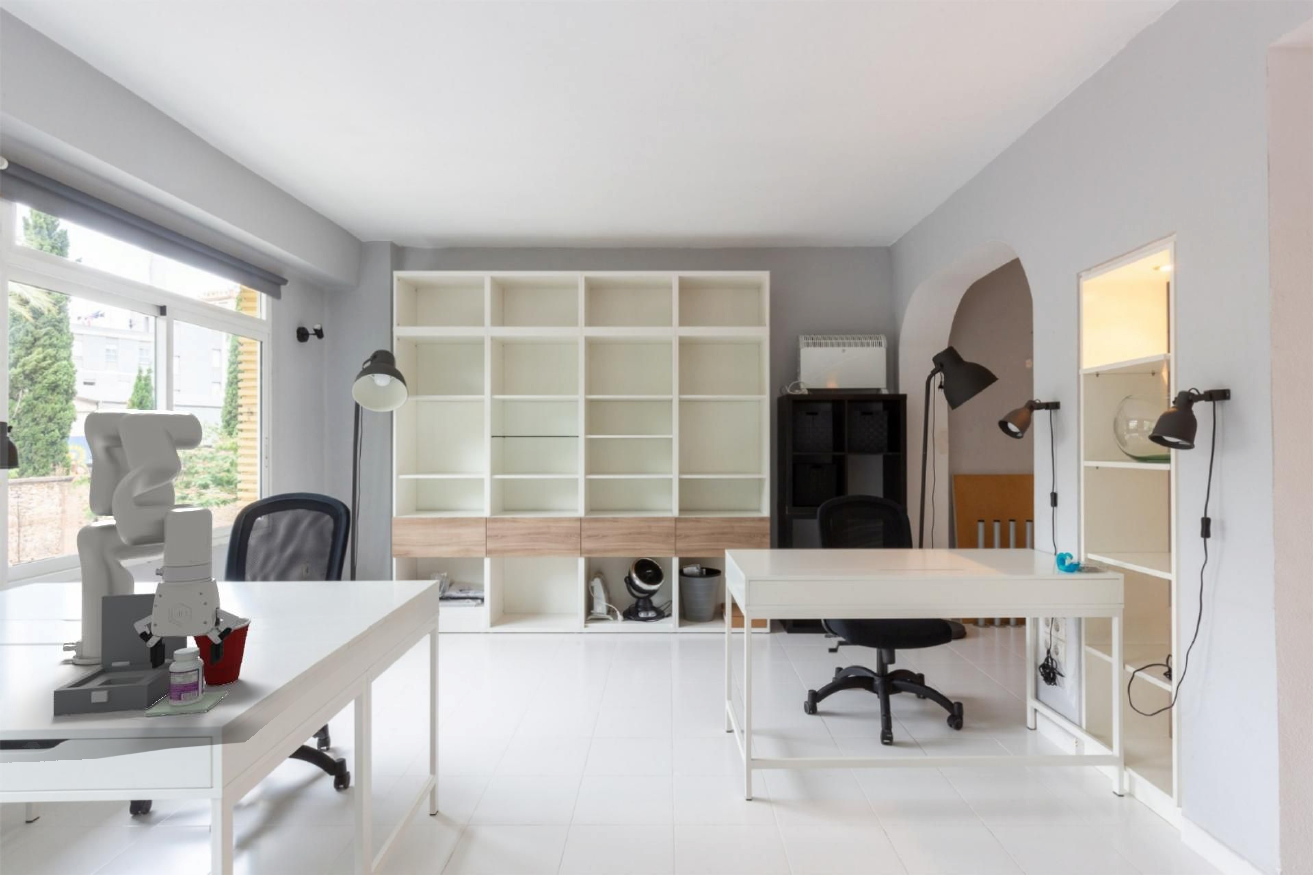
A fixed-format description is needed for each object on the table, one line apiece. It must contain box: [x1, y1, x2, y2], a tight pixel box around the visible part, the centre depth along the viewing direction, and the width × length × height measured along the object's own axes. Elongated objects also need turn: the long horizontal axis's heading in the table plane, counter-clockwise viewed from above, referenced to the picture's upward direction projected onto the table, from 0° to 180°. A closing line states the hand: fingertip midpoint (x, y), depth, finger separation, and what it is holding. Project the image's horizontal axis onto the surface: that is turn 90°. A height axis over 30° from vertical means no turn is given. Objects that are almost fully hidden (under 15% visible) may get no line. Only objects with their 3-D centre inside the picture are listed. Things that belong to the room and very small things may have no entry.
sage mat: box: [143, 691, 228, 718], centre depth 126 cm, size 10×9×1 cm
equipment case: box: [53, 592, 188, 717], centre depth 130 cm, size 15×16×18 cm
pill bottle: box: [168, 646, 205, 706], centre depth 127 cm, size 5×5×10 cm
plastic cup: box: [192, 617, 252, 687], centre depth 139 cm, size 11×11×12 cm
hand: (187, 664), depth 127 cm, fingers open, 9 cm apart
